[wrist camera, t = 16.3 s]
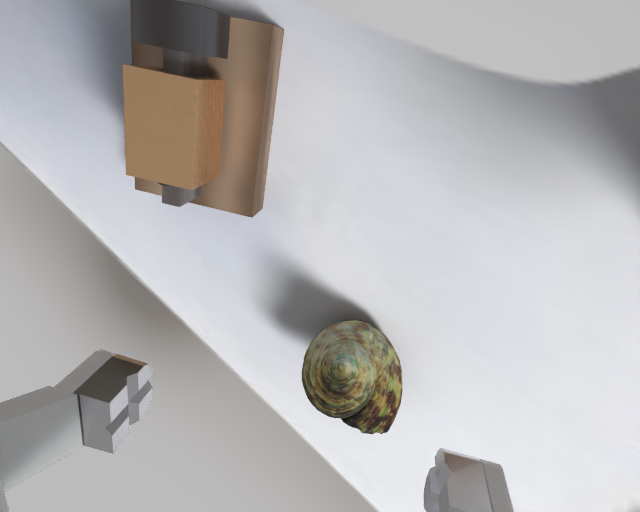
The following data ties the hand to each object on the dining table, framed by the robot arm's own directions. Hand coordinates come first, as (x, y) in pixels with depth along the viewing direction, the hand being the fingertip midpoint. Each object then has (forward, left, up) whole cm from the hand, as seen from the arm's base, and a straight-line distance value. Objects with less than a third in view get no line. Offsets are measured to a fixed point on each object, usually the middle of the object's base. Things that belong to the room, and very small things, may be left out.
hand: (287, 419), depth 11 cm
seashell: (-3, +19, -29) cm, 35 cm away
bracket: (+16, -3, -29) cm, 33 cm away
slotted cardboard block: (+16, -2, -25) cm, 30 cm away
